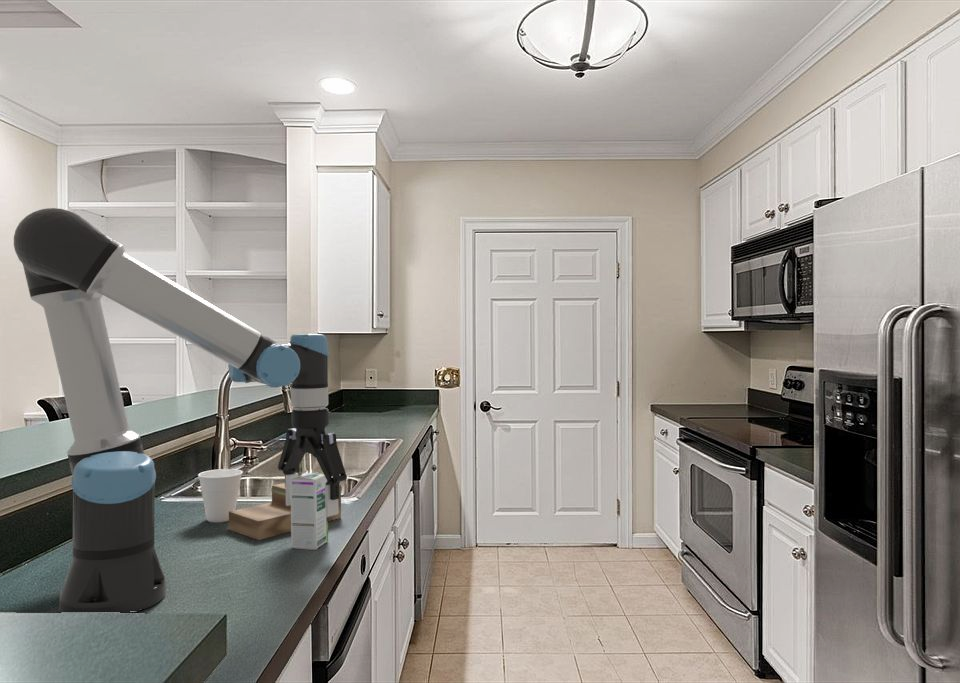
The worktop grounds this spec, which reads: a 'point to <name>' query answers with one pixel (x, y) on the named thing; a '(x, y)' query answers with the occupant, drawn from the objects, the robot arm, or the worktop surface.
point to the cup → (220, 492)
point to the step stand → (268, 516)
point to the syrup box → (308, 511)
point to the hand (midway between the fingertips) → (311, 509)
